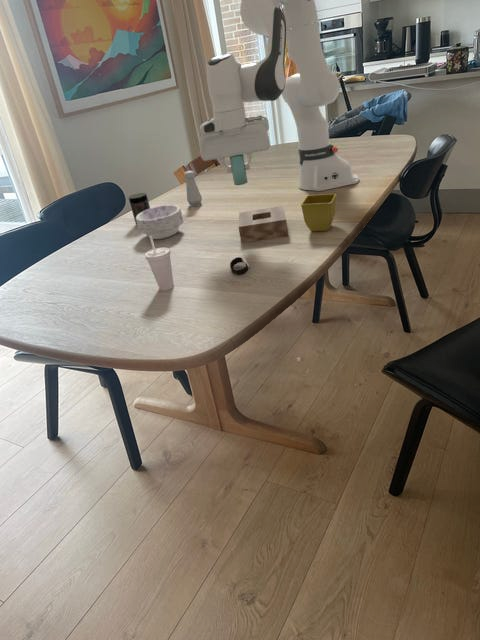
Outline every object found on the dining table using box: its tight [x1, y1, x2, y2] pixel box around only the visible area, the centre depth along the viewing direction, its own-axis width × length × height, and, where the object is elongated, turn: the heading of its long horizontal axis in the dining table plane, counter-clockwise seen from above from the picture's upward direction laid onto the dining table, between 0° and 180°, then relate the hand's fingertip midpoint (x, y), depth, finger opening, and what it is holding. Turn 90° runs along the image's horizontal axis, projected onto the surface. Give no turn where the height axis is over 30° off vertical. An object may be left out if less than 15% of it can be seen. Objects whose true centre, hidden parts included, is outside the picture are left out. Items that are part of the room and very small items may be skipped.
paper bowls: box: [136, 204, 184, 240], centre depth 158 cm, size 15×15×8 cm
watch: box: [229, 256, 250, 276], centre depth 122 cm, size 8×5×4 cm, turn 17°
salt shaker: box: [183, 170, 203, 207], centre depth 183 cm, size 6×6×13 cm
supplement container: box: [127, 192, 151, 226], centre depth 173 cm, size 7×7×10 cm
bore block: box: [237, 205, 289, 244], centre depth 144 cm, size 14×14×5 cm
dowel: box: [229, 154, 248, 186], centre depth 138 cm, size 4×4×8 cm
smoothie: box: [144, 236, 175, 291], centre depth 117 cm, size 6×6×14 cm
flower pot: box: [300, 193, 337, 232], centre depth 137 cm, size 9×9×9 cm
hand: (239, 170), depth 138 cm, fingers closed on dowel, 4 cm apart
